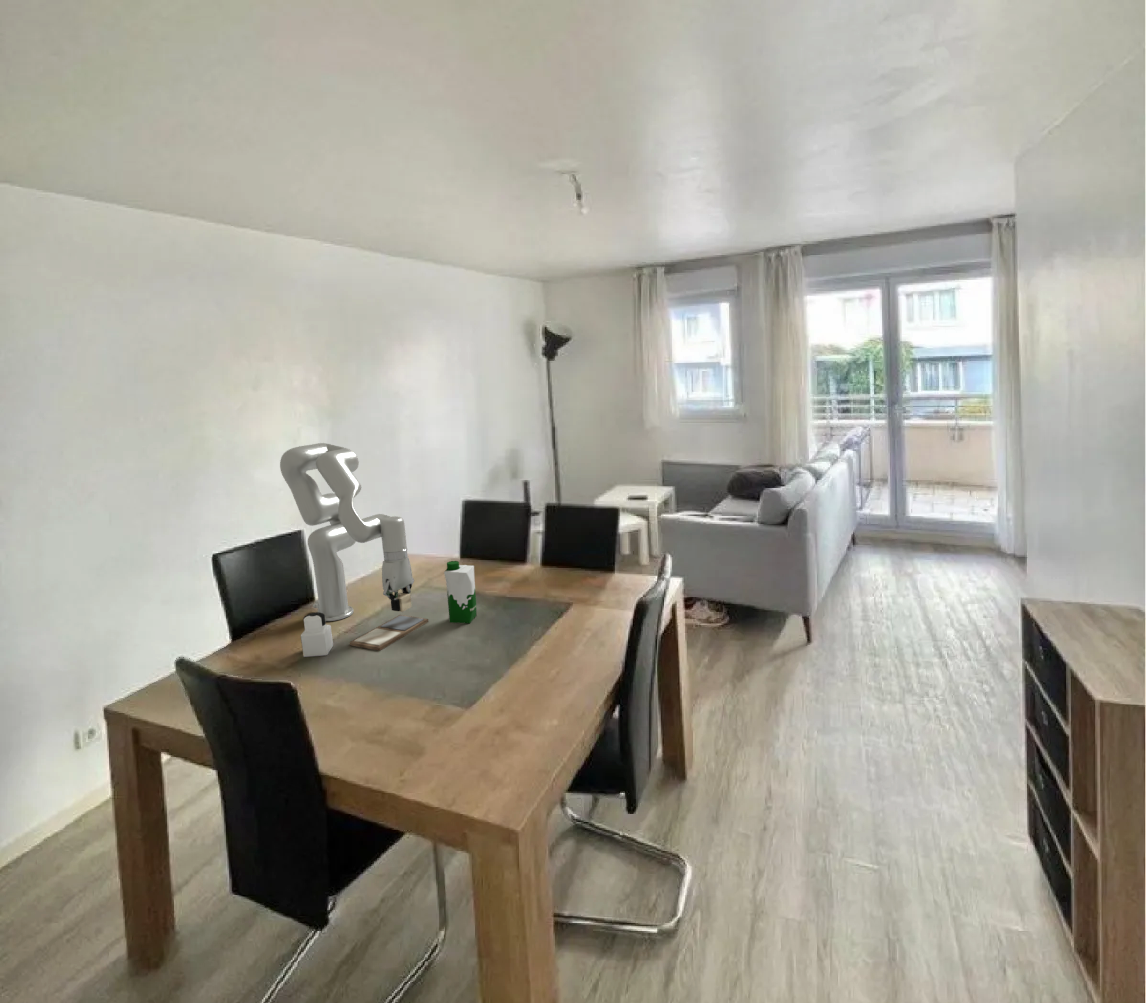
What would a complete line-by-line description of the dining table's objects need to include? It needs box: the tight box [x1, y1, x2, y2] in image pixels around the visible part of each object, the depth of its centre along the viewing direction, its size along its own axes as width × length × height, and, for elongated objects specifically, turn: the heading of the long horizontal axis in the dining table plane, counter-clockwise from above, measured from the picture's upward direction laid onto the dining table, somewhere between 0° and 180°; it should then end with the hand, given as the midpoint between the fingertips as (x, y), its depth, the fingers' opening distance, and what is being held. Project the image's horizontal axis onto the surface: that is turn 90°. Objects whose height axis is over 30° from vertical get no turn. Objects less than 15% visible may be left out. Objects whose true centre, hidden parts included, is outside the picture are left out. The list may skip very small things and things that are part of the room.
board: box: [349, 614, 429, 652], centre depth 214 cm, size 12×24×1 cm, turn 155°
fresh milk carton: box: [443, 560, 477, 624], centre depth 221 cm, size 9×9×20 cm
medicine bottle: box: [300, 611, 334, 658], centre depth 201 cm, size 7×7×12 cm
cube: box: [398, 592, 412, 613], centre depth 217 cm, size 4×4×4 cm
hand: (401, 607), depth 218 cm, fingers closed on cube, 4 cm apart
